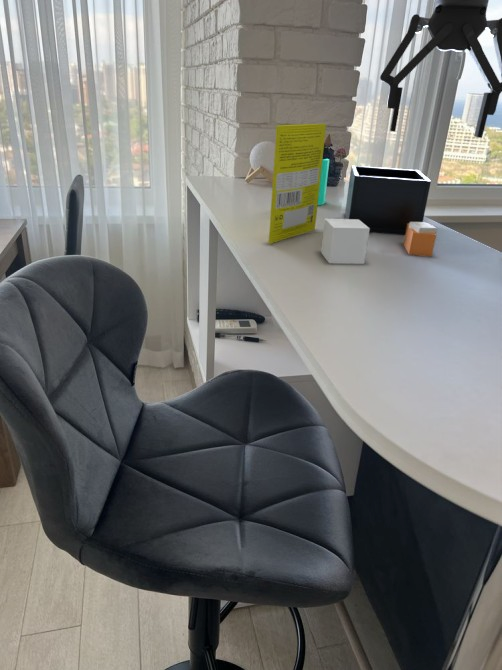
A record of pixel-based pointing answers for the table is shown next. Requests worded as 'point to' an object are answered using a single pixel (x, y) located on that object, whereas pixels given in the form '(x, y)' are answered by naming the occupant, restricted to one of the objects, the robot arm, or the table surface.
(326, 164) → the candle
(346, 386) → the table surface
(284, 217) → the food package
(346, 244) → the white cube
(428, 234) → the orange and grey block
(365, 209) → the black open storage box
